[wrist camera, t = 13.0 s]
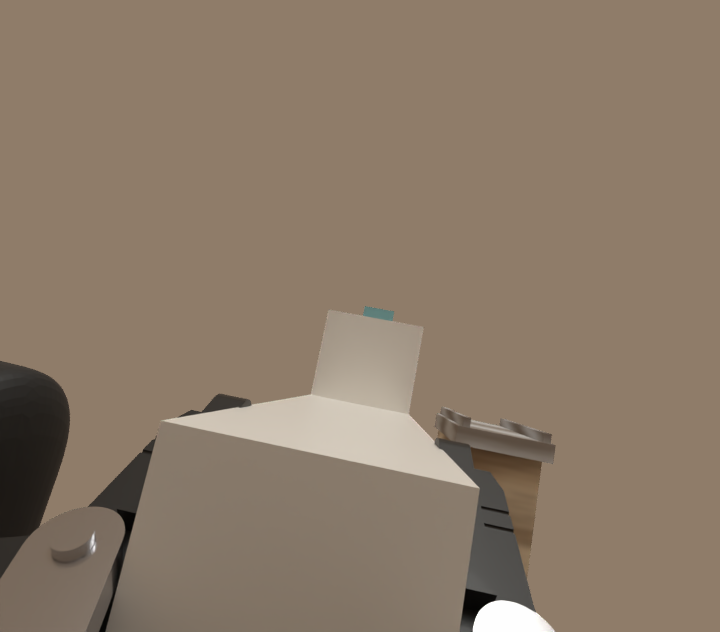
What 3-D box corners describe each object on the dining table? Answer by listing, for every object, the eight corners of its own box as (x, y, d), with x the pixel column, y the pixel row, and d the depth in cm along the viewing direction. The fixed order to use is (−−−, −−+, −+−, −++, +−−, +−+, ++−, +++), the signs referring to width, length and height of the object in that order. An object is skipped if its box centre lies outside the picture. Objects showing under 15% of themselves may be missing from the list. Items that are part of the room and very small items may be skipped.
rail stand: (501, 938, 29) (562, 436, 34) (375, 902, 29) (453, 414, 34) (463, 765, 42) (511, 420, 46) (376, 742, 42) (432, 404, 47)
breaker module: (429, 837, 5) (528, 147, 6) (77, 738, 5) (243, 104, 7) (388, 469, 26) (413, 328, 27) (318, 454, 26) (346, 316, 27)
